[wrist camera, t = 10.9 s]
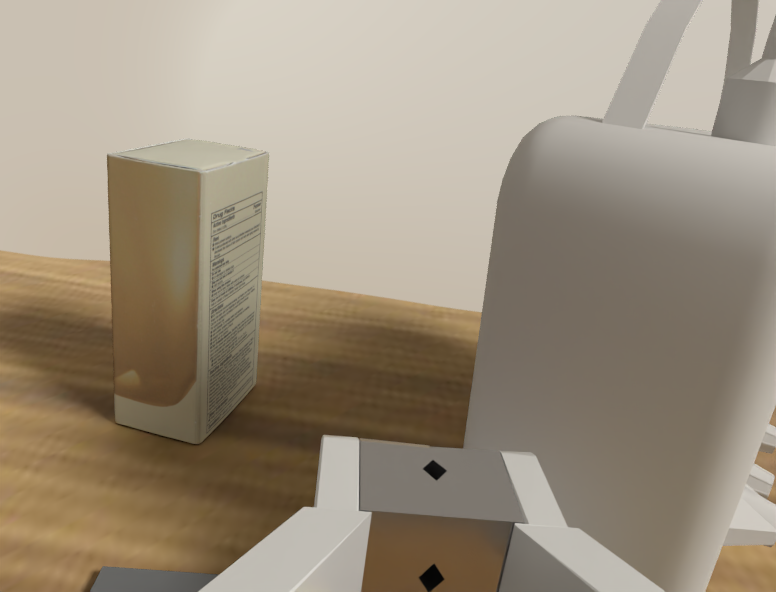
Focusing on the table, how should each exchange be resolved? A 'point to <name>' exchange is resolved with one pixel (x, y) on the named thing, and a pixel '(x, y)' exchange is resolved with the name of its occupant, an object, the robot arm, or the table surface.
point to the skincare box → (185, 282)
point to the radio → (642, 313)
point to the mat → (149, 580)
